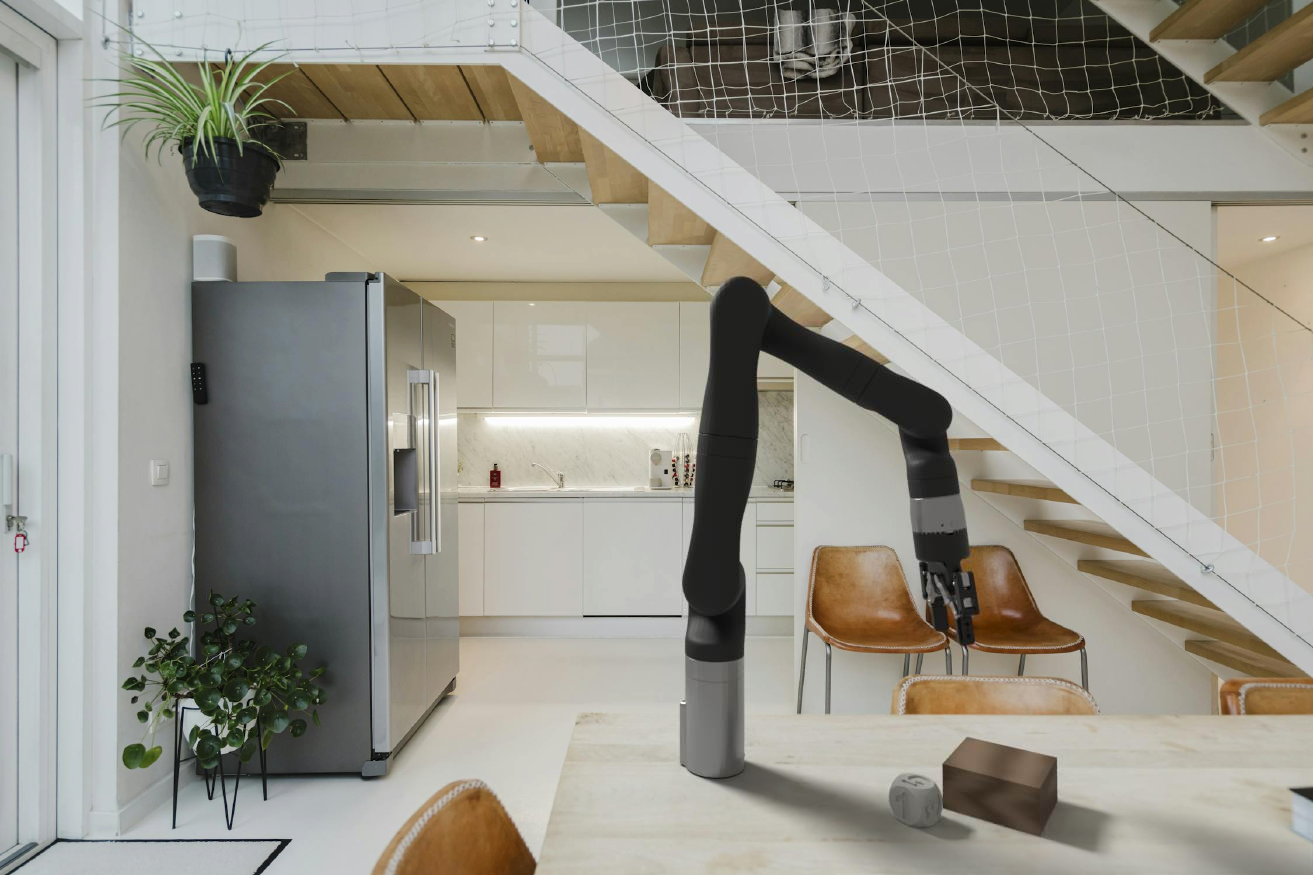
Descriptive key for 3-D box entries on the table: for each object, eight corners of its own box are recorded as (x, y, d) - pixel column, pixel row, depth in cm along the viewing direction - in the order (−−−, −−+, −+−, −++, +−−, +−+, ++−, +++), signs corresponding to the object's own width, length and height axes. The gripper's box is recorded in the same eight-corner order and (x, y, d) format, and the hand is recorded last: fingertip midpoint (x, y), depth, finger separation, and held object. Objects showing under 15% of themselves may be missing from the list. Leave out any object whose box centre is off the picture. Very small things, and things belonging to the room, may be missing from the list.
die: (888, 816, 97) (888, 778, 97) (910, 805, 100) (910, 769, 100) (921, 832, 93) (921, 793, 93) (943, 820, 96) (943, 782, 96)
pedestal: (942, 807, 100) (942, 763, 100) (967, 776, 109) (966, 736, 109) (1040, 836, 92) (1039, 788, 92) (1057, 800, 102) (1057, 757, 102)
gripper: (896, 525, 114) (910, 629, 113) (932, 533, 100) (948, 652, 99) (944, 520, 114) (958, 624, 113) (986, 527, 100) (1003, 646, 99)
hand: (953, 637), depth 106 cm, fingers open, 8 cm apart
